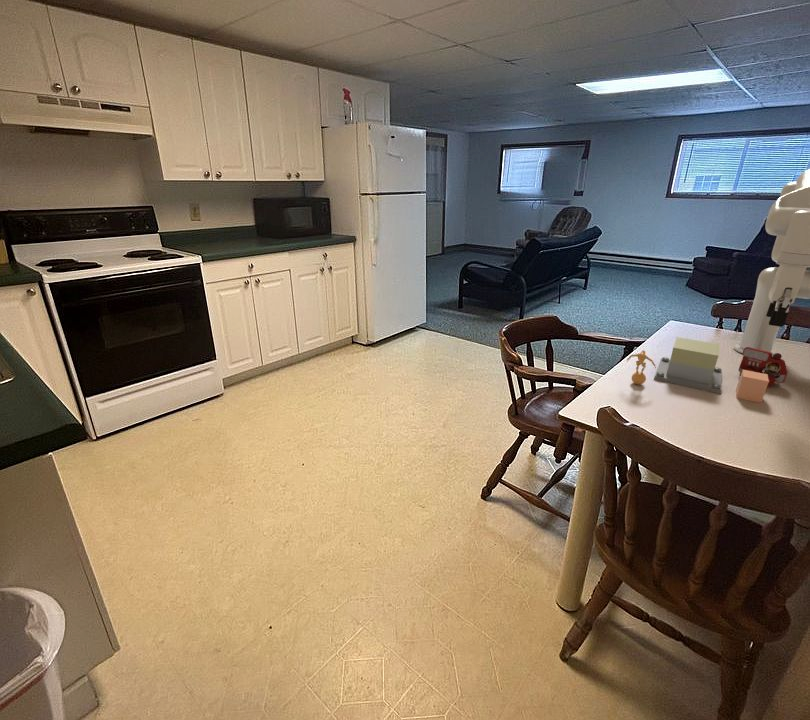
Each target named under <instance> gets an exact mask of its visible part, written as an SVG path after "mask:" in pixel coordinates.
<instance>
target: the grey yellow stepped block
mask: <svg viewBox="0 0 810 720" xmlns="http://www.w3.org/2000/svg"><path fill="white" fill-rule="evenodd" d="M719 355H720V344H719V343H714V342H708V341H703V340H696V339H691V338H690V339H689V338H685V337H679V336H677V337H675V342H674V344H673V348H672V351H671V355H670V358H669V357H665V356H664V357H662V358H661V359H660V361H659V363H658V366H657V369H656V371H655V374H654V378H653V379H654V380H655V379H656V380H655V381H660V382H664V381H665V382H664V383H669V382H670V383H669V384H673V383H674V384H675V385H677V386H678V385H679V386H684V387H687V386H688V387H687V388H692V387H693V388H692V389H696V388H697V389H696V390H701V389H702V390H701V391H705V390H706V391H705V392H710V391H711V392H710V393H716V394H719V395H720V394H721V391H722V380H723V370H722V368H721V367H718V366H717V367H716V365H717V362H718V359H719Z"/></svg>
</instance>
